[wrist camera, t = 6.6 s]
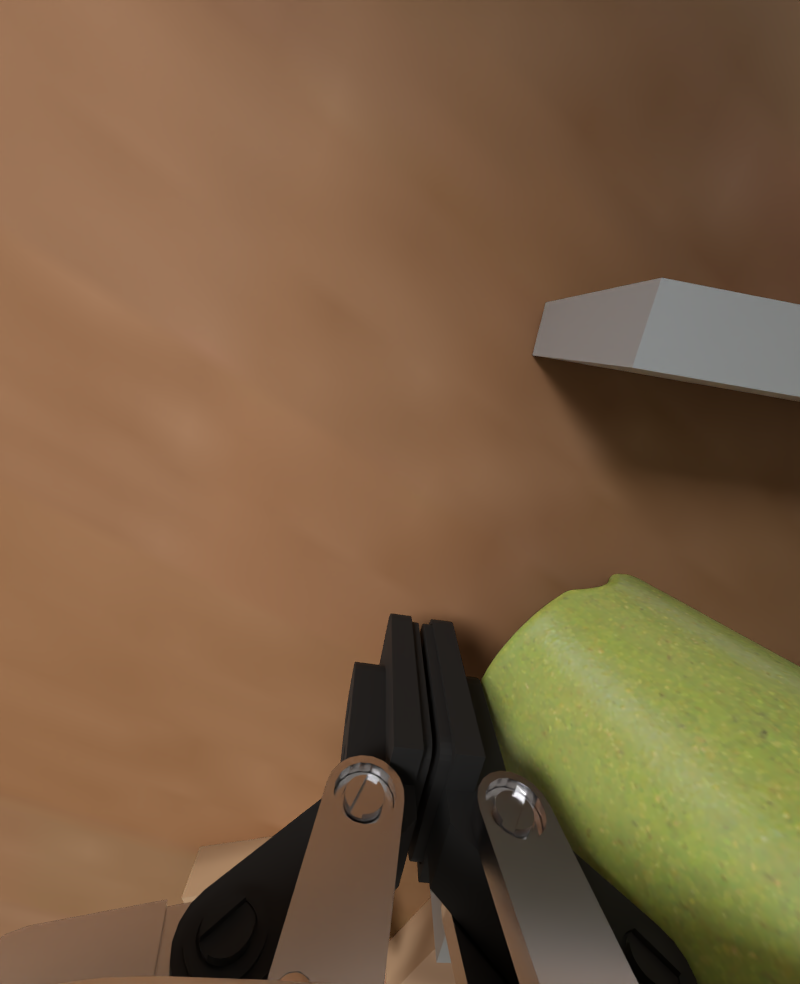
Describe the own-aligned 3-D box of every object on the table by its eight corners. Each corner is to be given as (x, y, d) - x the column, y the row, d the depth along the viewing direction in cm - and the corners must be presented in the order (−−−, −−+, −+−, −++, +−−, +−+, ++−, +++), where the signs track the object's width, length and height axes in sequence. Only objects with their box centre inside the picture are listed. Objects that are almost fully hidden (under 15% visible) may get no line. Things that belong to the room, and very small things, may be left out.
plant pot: (711, 587, 15) (1186, 891, 8) (524, 781, 15) (803, 1203, 9) (624, 439, 9) (2168, 1115, 2) (333, 762, 10) (724, 1977, 3)
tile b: (459, 852, 17) (468, 915, 16) (575, 893, 19) (596, 955, 17) (385, 932, 19) (386, 997, 17) (496, 965, 20) (507, 1029, 18)
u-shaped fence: (545, 302, 10) (661, 278, 6) (1028, 391, 11) (1415, 424, 7) (422, 792, 16) (436, 962, 11) (757, 818, 17) (884, 982, 12)
